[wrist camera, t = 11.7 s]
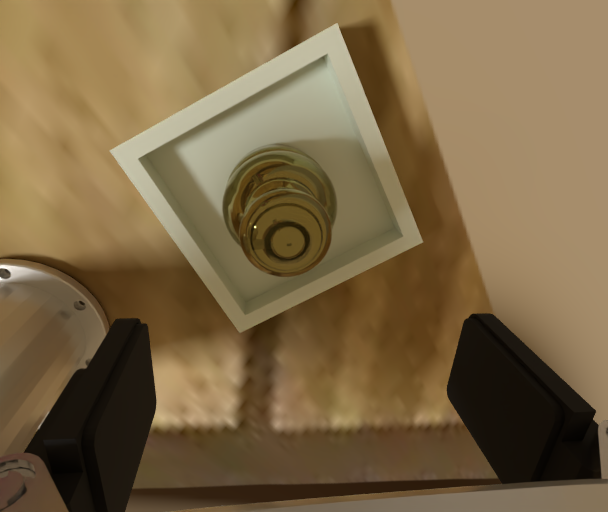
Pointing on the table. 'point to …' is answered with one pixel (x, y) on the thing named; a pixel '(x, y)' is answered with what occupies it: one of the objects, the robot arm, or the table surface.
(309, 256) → the brass door knob
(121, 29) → the table surface
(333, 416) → the table surface
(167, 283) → the table surface
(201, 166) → the tray
